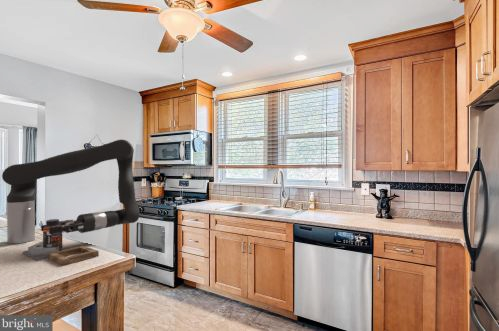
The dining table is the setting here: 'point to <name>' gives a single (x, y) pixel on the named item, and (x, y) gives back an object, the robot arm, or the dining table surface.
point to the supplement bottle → (52, 238)
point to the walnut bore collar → (84, 255)
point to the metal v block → (40, 251)
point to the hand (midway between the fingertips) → (45, 229)
